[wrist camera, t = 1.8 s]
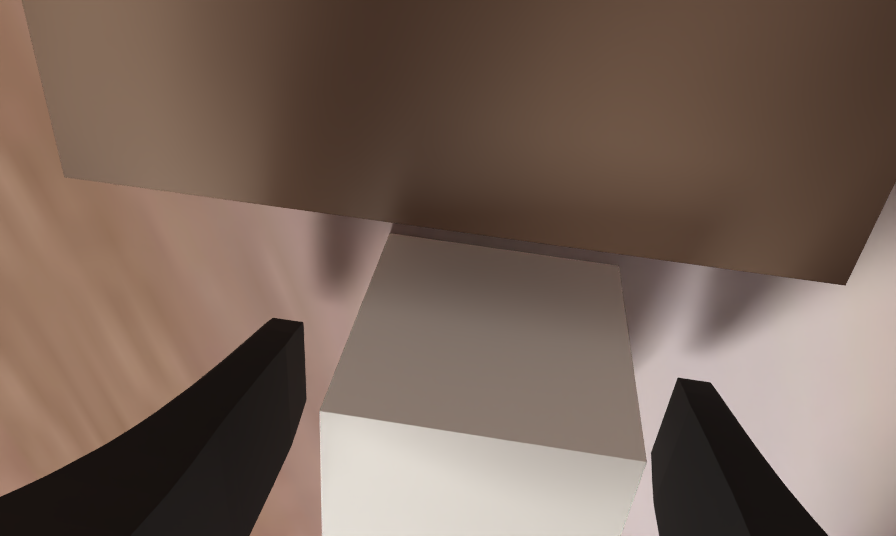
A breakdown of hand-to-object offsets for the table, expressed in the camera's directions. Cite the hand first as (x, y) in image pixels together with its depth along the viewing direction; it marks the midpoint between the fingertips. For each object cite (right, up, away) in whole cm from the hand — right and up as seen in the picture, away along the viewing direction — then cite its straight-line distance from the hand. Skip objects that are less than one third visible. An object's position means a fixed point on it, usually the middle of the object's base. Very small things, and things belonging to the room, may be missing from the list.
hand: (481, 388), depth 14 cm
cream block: (0, +1, +1) cm, 2 cm away
